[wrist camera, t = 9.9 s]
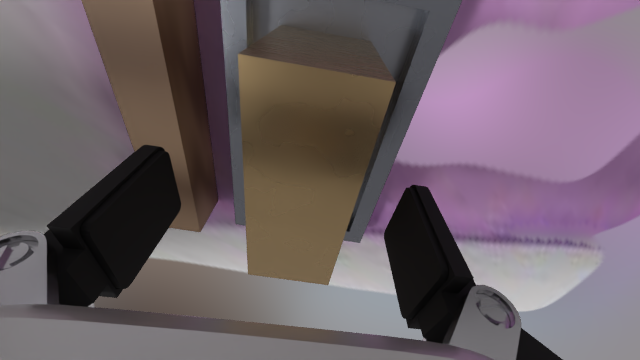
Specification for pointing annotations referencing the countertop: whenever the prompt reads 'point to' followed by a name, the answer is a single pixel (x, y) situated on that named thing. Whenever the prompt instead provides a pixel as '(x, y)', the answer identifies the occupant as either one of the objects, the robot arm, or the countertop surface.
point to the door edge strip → (161, 90)
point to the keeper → (355, 22)
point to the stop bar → (306, 145)
